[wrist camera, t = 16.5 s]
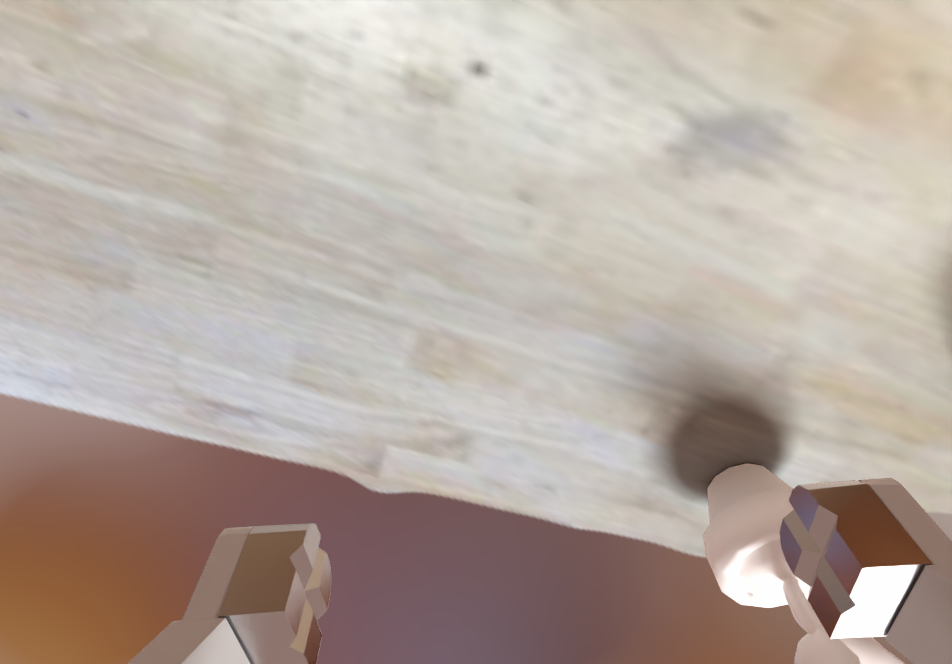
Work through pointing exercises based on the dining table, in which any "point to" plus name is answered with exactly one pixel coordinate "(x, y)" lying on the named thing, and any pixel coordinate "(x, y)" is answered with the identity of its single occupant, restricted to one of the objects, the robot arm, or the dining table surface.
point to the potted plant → (770, 562)
